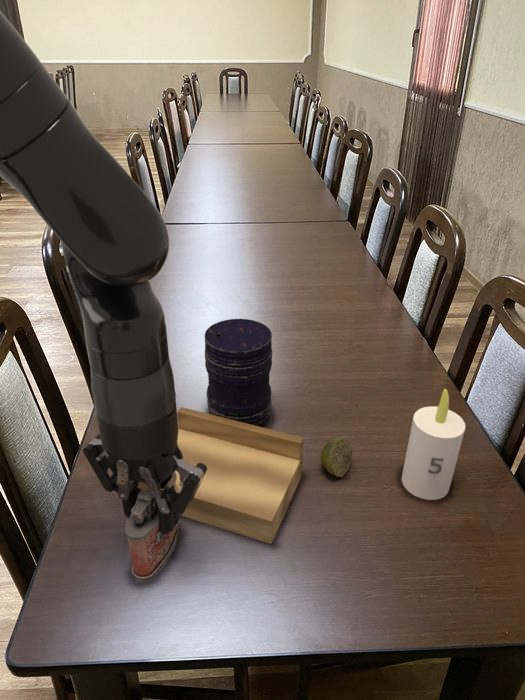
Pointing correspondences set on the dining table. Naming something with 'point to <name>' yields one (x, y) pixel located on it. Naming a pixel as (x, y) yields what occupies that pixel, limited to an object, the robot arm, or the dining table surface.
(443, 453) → the candle
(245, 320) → the dark blue cylinder
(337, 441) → the lime
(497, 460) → the dining table surface
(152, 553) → the lighter
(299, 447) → the shelf
